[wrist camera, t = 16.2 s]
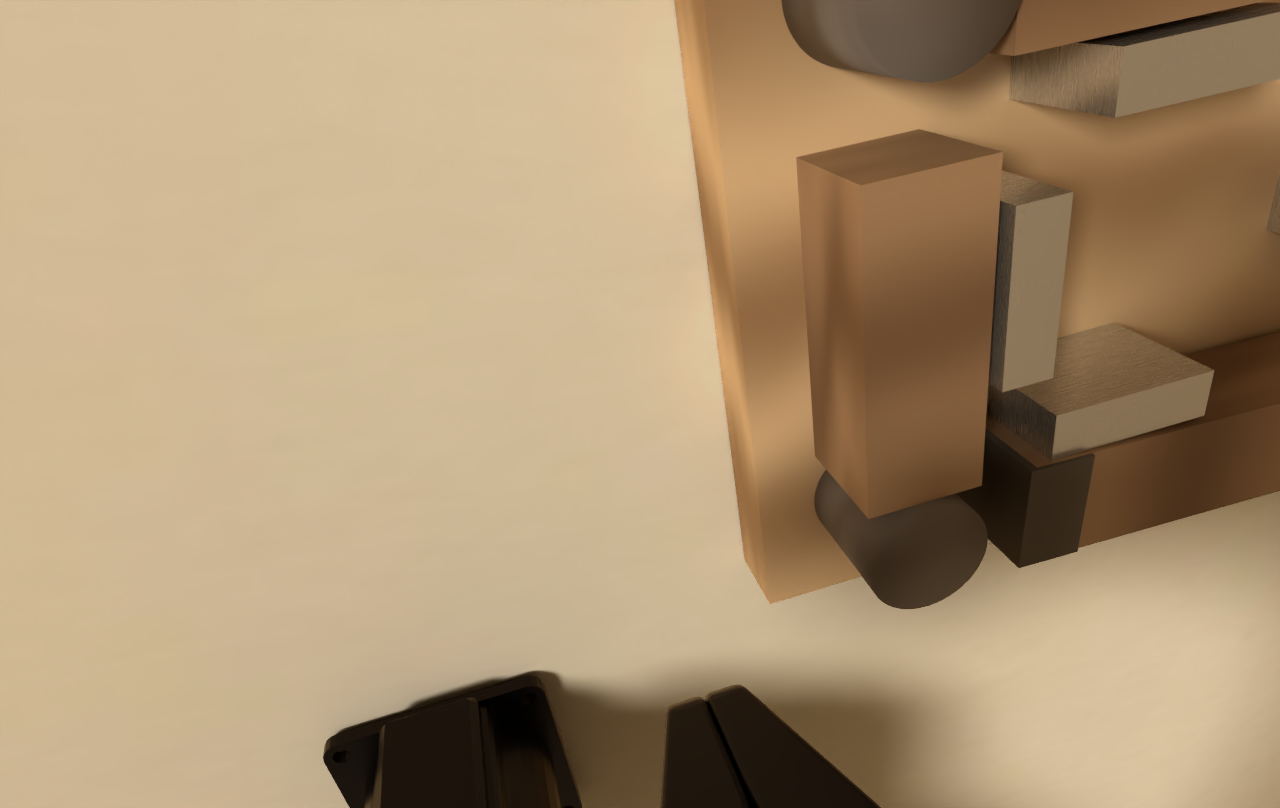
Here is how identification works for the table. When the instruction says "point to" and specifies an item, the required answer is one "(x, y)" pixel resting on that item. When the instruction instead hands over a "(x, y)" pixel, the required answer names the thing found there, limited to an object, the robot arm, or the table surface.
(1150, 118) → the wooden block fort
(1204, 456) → the leg
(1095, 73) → the brackets
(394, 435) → the table surface
